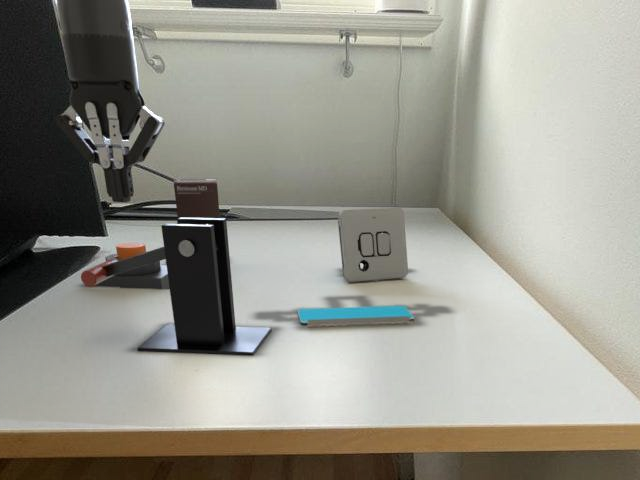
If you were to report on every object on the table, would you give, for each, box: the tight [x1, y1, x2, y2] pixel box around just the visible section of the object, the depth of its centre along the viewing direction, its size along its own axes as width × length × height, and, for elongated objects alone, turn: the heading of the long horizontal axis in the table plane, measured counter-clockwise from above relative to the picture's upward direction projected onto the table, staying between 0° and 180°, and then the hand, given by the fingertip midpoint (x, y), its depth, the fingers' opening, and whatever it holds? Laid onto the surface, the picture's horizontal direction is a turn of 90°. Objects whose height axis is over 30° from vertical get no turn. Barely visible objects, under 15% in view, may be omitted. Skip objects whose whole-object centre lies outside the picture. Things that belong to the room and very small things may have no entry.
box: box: [173, 178, 221, 219], centre depth 95 cm, size 6×4×12 cm
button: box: [115, 242, 147, 259], centre depth 85 cm, size 4×4×2 cm
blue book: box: [297, 305, 415, 328], centre depth 74 cm, size 20×12×2 cm, turn 99°
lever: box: [80, 223, 219, 288], centre depth 61 cm, size 12×6×2 cm, turn 84°
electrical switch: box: [337, 207, 409, 283], centre depth 92 cm, size 9×5×9 cm, turn 110°
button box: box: [93, 252, 170, 290], centre depth 86 cm, size 10×8×4 cm
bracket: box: [136, 217, 273, 357], centre depth 62 cm, size 11×8×12 cm
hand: (121, 201), depth 82 cm, fingers closed
